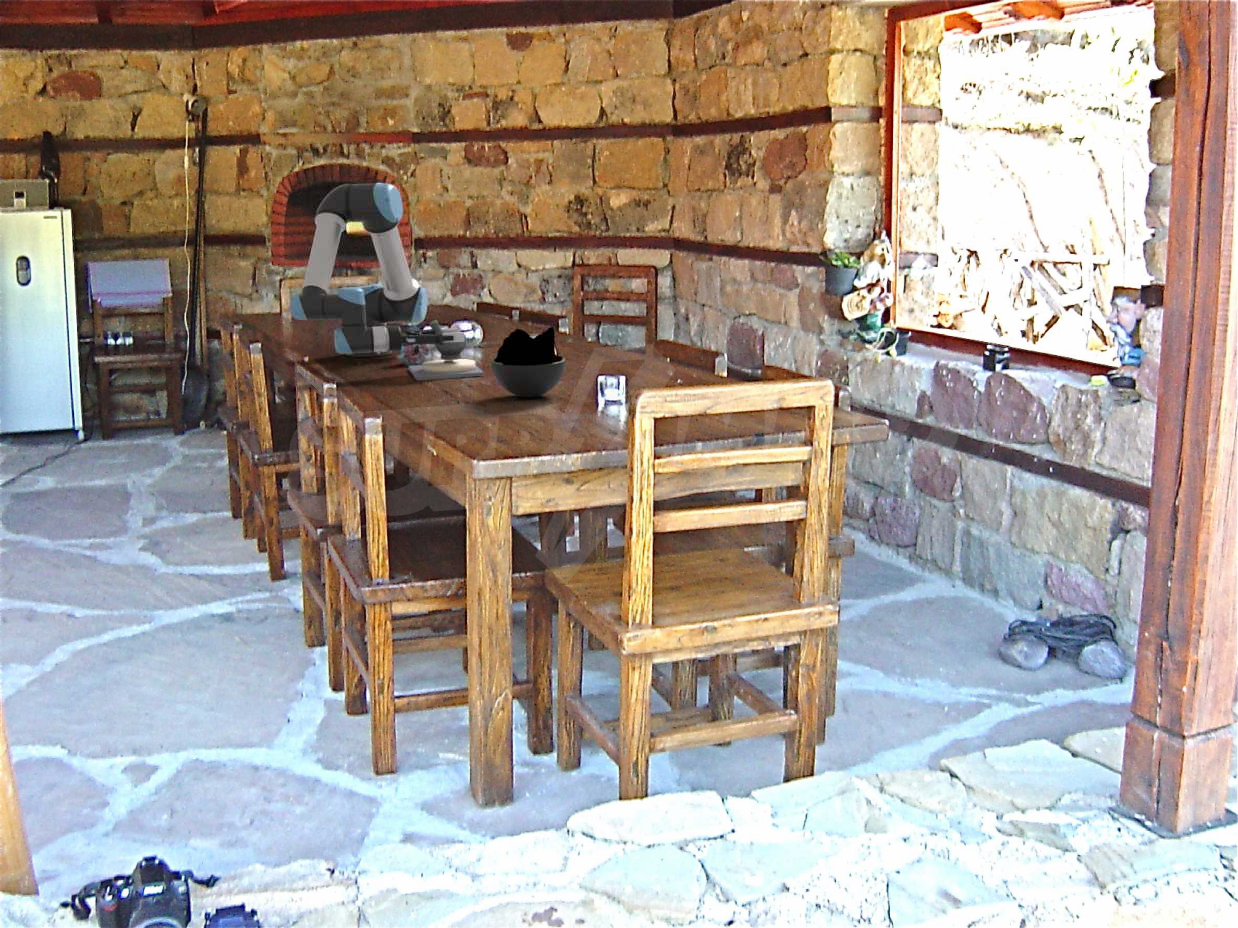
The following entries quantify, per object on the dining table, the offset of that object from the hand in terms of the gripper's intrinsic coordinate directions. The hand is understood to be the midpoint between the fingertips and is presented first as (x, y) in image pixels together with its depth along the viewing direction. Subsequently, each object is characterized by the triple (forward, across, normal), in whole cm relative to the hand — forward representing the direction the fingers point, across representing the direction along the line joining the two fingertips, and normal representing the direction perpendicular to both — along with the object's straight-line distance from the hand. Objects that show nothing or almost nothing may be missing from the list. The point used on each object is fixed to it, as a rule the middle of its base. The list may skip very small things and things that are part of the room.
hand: (461, 335), depth 399 cm
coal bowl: (+11, +50, -12) cm, 52 cm away
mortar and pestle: (-4, 0, -7) cm, 8 cm away
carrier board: (-5, -1, -12) cm, 13 cm away
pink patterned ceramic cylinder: (-12, -24, -12) cm, 29 cm away
